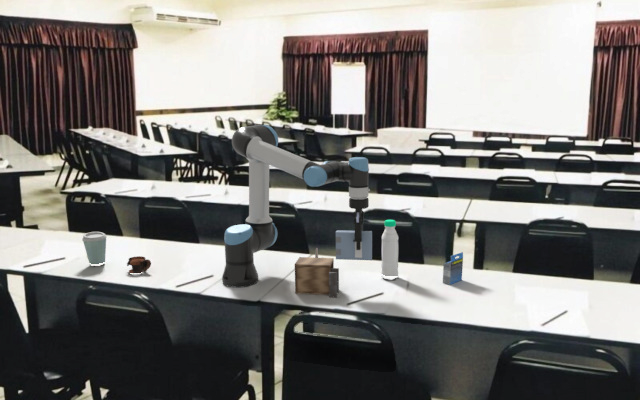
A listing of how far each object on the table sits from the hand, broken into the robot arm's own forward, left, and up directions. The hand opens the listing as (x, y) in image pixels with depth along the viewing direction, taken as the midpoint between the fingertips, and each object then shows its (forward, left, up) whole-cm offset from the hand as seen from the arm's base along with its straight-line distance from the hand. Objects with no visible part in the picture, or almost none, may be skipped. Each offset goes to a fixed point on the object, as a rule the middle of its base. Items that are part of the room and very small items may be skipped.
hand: (358, 256), depth 241 cm
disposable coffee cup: (-125, +22, -15) cm, 128 cm away
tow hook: (-20, +19, -15) cm, 31 cm away
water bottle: (+11, +18, -15) cm, 26 cm away
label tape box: (+37, +16, -15) cm, 43 cm away
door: (-2, 0, -1) cm, 2 cm away
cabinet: (-16, -2, -14) cm, 22 cm away
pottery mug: (-100, +15, -15) cm, 102 cm away
